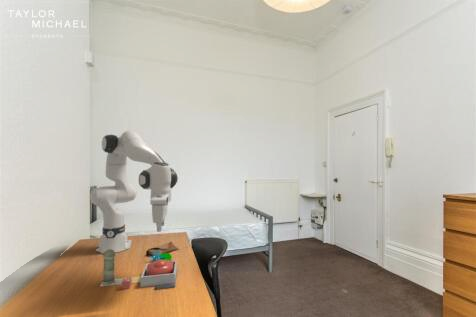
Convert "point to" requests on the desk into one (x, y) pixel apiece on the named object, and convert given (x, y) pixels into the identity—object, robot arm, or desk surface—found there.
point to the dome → (160, 267)
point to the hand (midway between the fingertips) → (160, 228)
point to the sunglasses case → (162, 249)
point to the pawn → (108, 267)
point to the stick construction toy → (161, 256)
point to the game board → (150, 279)
